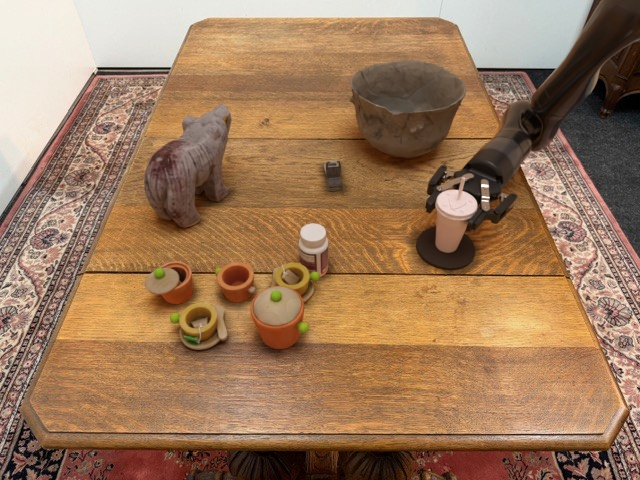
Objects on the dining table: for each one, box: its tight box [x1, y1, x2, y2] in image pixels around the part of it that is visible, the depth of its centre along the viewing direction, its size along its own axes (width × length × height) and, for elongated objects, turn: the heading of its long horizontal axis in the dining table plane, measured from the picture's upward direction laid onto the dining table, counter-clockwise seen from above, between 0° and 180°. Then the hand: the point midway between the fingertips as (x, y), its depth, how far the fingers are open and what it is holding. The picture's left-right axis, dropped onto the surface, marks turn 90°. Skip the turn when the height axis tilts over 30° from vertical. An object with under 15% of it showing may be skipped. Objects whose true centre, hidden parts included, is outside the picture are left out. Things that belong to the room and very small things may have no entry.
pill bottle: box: [298, 222, 329, 278], centre depth 75 cm, size 5×5×8 cm
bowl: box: [349, 59, 467, 159], centre depth 98 cm, size 22×22×15 cm
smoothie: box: [435, 177, 477, 253], centre depth 76 cm, size 6×6×14 cm
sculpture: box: [143, 103, 232, 229], centre depth 86 cm, size 12×21×15 cm, turn 175°
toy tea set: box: [144, 261, 321, 351], centre depth 69 cm, size 26×16×10 cm, turn 90°
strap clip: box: [323, 160, 344, 192], centre depth 94 cm, size 8×3×4 cm, turn 7°
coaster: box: [415, 226, 477, 271], centre depth 81 cm, size 10×10×1 cm
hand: (448, 217), depth 74 cm, fingers closed on smoothie, 6 cm apart
